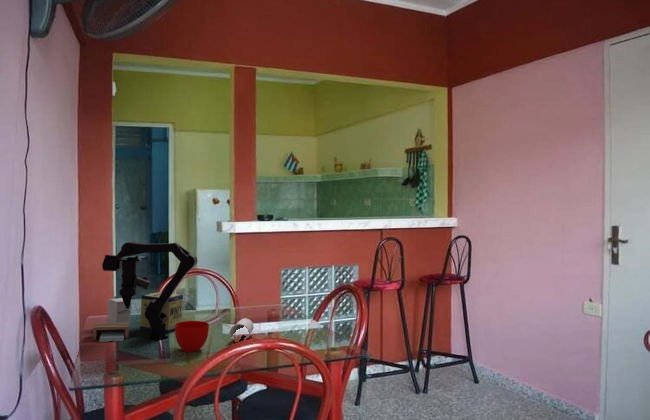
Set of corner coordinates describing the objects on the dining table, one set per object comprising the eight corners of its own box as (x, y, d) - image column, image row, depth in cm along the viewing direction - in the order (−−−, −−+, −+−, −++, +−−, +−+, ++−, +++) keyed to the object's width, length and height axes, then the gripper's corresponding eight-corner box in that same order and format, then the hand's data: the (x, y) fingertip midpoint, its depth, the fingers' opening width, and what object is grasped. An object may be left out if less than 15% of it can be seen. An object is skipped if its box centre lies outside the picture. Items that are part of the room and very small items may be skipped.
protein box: (168, 333, 229) (170, 298, 229) (139, 329, 234) (140, 294, 234) (182, 328, 239) (183, 294, 239) (154, 324, 244) (155, 291, 244)
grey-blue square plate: (123, 342, 213) (123, 337, 213) (99, 343, 210) (99, 337, 210) (124, 336, 223) (124, 331, 223) (101, 337, 220) (102, 331, 220)
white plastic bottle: (256, 333, 236) (257, 315, 236) (247, 343, 217) (248, 324, 217) (239, 332, 236) (239, 314, 236) (229, 342, 217) (229, 323, 217)
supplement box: (115, 329, 231) (116, 301, 231) (106, 327, 236) (107, 299, 236) (130, 327, 237) (131, 299, 237) (121, 324, 242) (122, 297, 242)
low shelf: (127, 338, 217) (128, 326, 217) (92, 339, 213) (93, 327, 213) (128, 333, 225) (129, 322, 225) (94, 335, 221) (95, 323, 221)
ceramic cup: (188, 341, 216) (189, 317, 216) (214, 350, 206) (215, 324, 206) (161, 347, 206) (162, 322, 206) (187, 356, 196) (188, 329, 196)
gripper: (149, 274, 213) (147, 312, 213) (149, 269, 231) (147, 304, 231) (120, 274, 210) (118, 313, 210) (122, 269, 227) (120, 304, 227)
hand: (127, 308), depth 219 cm, fingers closed
